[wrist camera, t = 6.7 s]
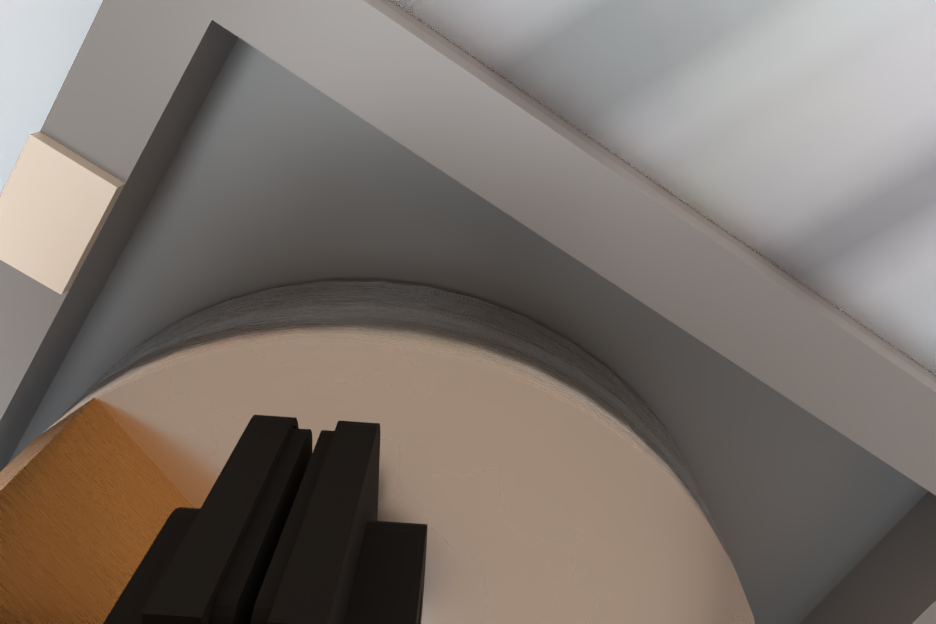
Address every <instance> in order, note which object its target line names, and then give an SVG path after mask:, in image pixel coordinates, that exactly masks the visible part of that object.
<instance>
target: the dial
mask: <svg viewBox="0 0 936 624" xmlns="http://www.w3.org/2000/svg"><path fill="white" fill-rule="evenodd" d="M253 415H267V416H281V417H295V418H297V420H298V427H299V429H311V431H312V453H313V450H314V448H315V445H316V443H317V440H318V437H319V435H320V432H321V430H329V431H335V428H336V425H337V423H338V421H353V422H368V423H380V461H379V488H378V514H377V521H388V522H402V523H417V524H427V547H426V564H425V579H424V594H423V607H422V619H421V624H755V621H754V617H753V614H752V611H751V609H750V606H749V604H748V601H747V598H746V596H745V593H744V591H743V588H742V586H741V583H740V581H739V578H738V575H737V573H736V570H735V568H734V566H733V564H732V561H731V559H730V557H729V555H728V552H727V550H726V548H725V546H724V543H723V541H722V539H721V536H720V534H719V532H718V530H717V527H716V525H715V523H714V521H713V518H712V516H711V514H710V512H709V509H708V507H707V505H706V503H705V500H704V498H703V496H702V493H701V491H700V489H699V487H698V484H697V482H696V480H695V478H694V475H693V473H692V472H691V470H690V468H689V466H688V465H687V463H686V461H685V460H684V458H683V456H682V454H681V453H680V451H679V449H678V447H677V446H676V444H675V442H674V441H673V439H672V437H671V436H670V434H669V433H668V432H667V431H666V429H665V428H664V427H663V426H662V424H661V423H660V422H659V421H658V419H657V418H656V417H655V416H654V414H653V413H652V412H651V411H650V409H649V408H648V407H647V406H646V404H645V403H644V402H643V401H642V400H641V399H640V398H639V397H638V396H637V395H636V394H635V393H634V392H633V391H632V390H631V389H630V388H629V387H628V386H626V385H625V384H624V383H623V382H622V381H621V380H620V379H619V378H618V377H617V376H616V375H615V374H614V373H613V372H612V371H611V370H610V369H608V368H607V367H606V366H604V365H603V364H601V363H600V362H599V361H597V360H596V359H594V358H593V357H592V356H590V355H589V354H587V353H586V352H585V351H583V350H582V349H581V348H579V347H578V346H576V345H575V344H574V343H572V342H571V341H569V340H567V339H566V338H564V337H562V336H560V335H558V334H556V333H554V332H552V331H551V330H549V329H547V328H545V327H543V326H541V325H539V324H538V323H536V322H534V321H532V320H530V319H528V318H526V317H524V316H521V315H519V314H516V313H514V312H511V311H508V310H506V309H503V308H501V307H498V306H495V305H493V304H490V303H487V302H485V301H482V300H480V299H476V298H472V297H468V296H464V295H460V294H456V293H452V292H448V291H444V290H440V289H436V288H432V287H427V286H419V285H410V284H401V283H393V282H384V281H321V282H313V283H306V284H299V285H291V286H284V287H277V288H271V289H268V290H264V291H260V292H257V293H253V294H249V295H246V296H242V297H238V298H235V299H231V300H227V301H224V302H222V303H220V304H217V305H215V306H212V307H210V308H208V309H205V310H203V311H201V312H198V313H196V314H194V315H191V316H189V317H186V318H184V319H182V320H180V321H178V322H177V323H175V324H173V325H172V326H170V327H168V328H166V329H165V330H163V331H161V332H160V333H158V334H156V335H155V336H153V337H151V338H150V339H148V340H146V341H145V342H143V343H141V344H140V345H139V346H138V347H136V348H135V349H134V350H133V351H132V352H130V353H129V354H128V355H127V356H125V357H124V358H123V359H122V360H121V361H119V362H118V363H117V364H116V365H114V366H113V367H112V368H111V369H110V370H108V371H107V372H106V373H105V374H104V375H103V376H102V377H101V378H100V379H99V380H98V381H96V382H95V383H94V384H93V385H92V386H91V387H90V388H89V389H88V390H87V391H86V392H85V393H84V394H83V395H82V396H81V397H80V398H79V399H78V400H77V401H76V402H75V403H74V404H73V405H71V406H70V407H69V408H68V409H67V410H66V411H65V412H64V413H63V414H62V415H61V416H60V417H59V418H58V419H57V420H56V421H55V422H54V423H53V424H52V425H51V426H50V427H49V428H47V429H46V430H45V431H44V432H43V433H42V434H41V435H39V436H38V437H37V438H35V439H34V440H33V441H32V442H31V443H30V444H29V445H28V446H27V447H26V448H25V449H24V450H23V451H22V452H21V453H20V454H19V455H18V456H16V457H15V458H14V459H13V460H12V461H11V462H10V463H9V464H8V465H7V466H6V467H5V468H4V469H3V470H2V471H1V472H0V624H103V623H104V621H105V620H106V618H107V616H108V615H109V613H110V611H111V610H112V608H113V607H114V605H115V603H116V602H117V600H118V598H119V597H120V595H121V594H122V592H123V590H124V589H125V587H126V585H127V584H128V582H129V581H130V579H131V577H132V576H133V574H134V572H135V571H136V569H137V568H138V566H139V564H140V563H141V561H142V559H143V558H144V556H145V555H146V553H147V551H148V550H149V548H150V546H151V545H152V543H153V542H154V540H155V538H156V537H157V535H158V533H159V532H160V530H161V529H162V527H163V525H164V524H165V522H166V520H167V519H168V517H169V516H170V514H171V513H172V512H173V511H174V510H175V509H176V508H179V507H185V508H201V507H202V505H203V503H204V501H205V499H206V498H207V496H208V494H209V492H210V491H211V489H212V487H213V485H214V484H215V482H216V480H217V478H218V476H219V475H220V473H221V471H222V469H223V468H224V466H225V464H226V462H227V460H228V459H229V457H230V455H231V453H232V452H233V450H234V448H235V446H236V444H237V443H238V441H239V439H240V437H241V436H242V434H243V432H244V430H245V428H246V427H247V425H248V423H249V421H250V420H251V418H252V417H253Z"/></svg>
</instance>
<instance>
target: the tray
mask: <svg viewBox="0 0 936 624" xmlns="http://www.w3.org/2000/svg"><path fill="white" fill-rule="evenodd" d="M321 281H384V282H393V283H401V284H410V285H419V286H427V287H432V288H436V289H440V290H444V291H448V292H452V293H456V294H460V295H464V296H468V297H472V298H476V299H480V300H482V301H485V302H487V303H490V304H493V305H495V306H498V307H501V308H503V309H506V310H508V311H511V312H514V313H516V314H519V315H521V316H524V317H526V318H528V319H530V320H532V321H534V322H536V323H538V324H539V325H541V326H543V327H545V328H547V329H549V330H551V331H552V332H554V333H556V334H558V335H560V336H562V337H564V338H566V339H567V340H569V341H571V342H572V343H574V344H575V345H576V346H578V347H579V348H581V349H582V350H583V351H585V352H586V353H587V354H589V355H590V356H592V357H593V358H594V359H596V360H597V361H599V362H600V363H601V364H603V365H604V366H606V367H607V368H608V369H610V370H611V371H612V372H613V373H614V374H615V375H616V376H617V377H618V378H619V379H620V380H621V381H622V382H623V383H624V384H625V385H626V386H628V387H629V388H630V389H631V390H632V391H633V392H634V393H635V394H636V395H637V396H638V397H639V398H640V399H641V400H642V401H643V402H644V403H645V404H646V406H647V407H648V408H649V409H650V411H651V412H652V413H653V414H654V416H655V417H656V418H657V419H658V421H659V422H660V423H661V424H662V426H663V427H664V428H665V429H666V431H667V432H668V433H669V434H670V436H671V437H672V439H673V441H674V442H675V444H676V446H677V447H678V449H679V451H680V453H681V454H682V456H683V458H684V460H685V461H686V463H687V465H688V466H689V468H690V470H691V472H692V473H693V475H694V478H695V480H696V482H697V484H698V487H699V489H700V491H701V493H702V496H703V498H704V500H705V503H706V505H707V507H708V509H709V512H710V514H711V516H712V518H713V521H714V523H715V525H716V527H717V530H718V532H719V534H720V536H721V539H722V541H723V543H724V546H725V548H726V550H727V552H728V555H729V557H730V559H731V561H732V564H733V566H734V568H735V570H736V573H737V575H738V578H739V581H740V583H741V586H742V588H743V591H744V593H745V596H746V598H747V601H748V604H749V606H750V609H751V611H752V614H753V617H754V621H755V624H936V376H935V375H934V374H932V373H931V372H929V371H928V370H926V369H925V368H924V367H922V366H921V365H919V364H918V363H916V362H915V361H913V360H912V359H910V358H909V357H908V356H906V355H905V354H903V353H902V352H900V351H899V350H897V349H896V348H895V347H893V346H892V345H890V344H889V343H887V342H886V341H884V340H883V339H881V338H880V337H879V336H877V335H876V334H874V333H873V332H871V331H870V330H868V329H867V328H865V327H864V326H863V325H861V324H860V323H858V322H857V321H855V320H854V319H852V318H851V317H849V316H848V315H847V314H845V313H844V312H842V311H841V310H839V309H838V308H836V307H835V306H834V305H832V304H831V303H829V302H828V301H826V300H825V299H823V298H822V297H820V296H819V295H818V294H816V293H815V292H813V291H812V290H810V289H809V288H807V287H806V286H804V285H803V284H802V283H800V282H799V281H797V280H796V279H794V278H793V277H791V276H790V275H788V274H787V273H786V272H784V271H783V270H781V269H780V268H778V267H777V266H775V265H774V264H773V263H771V262H770V261H768V260H767V259H765V258H764V257H762V256H761V255H759V254H758V253H757V252H755V251H754V250H752V249H751V248H749V247H748V246H746V245H745V244H743V243H742V242H741V241H739V240H738V239H736V238H735V237H733V236H732V235H730V234H729V233H727V232H726V231H725V230H723V229H722V228H720V227H719V226H717V225H716V224H714V223H713V222H712V221H710V220H709V219H707V218H706V217H704V216H703V215H701V214H700V213H698V212H697V211H696V210H694V209H693V208H691V207H690V206H688V205H687V204H685V203H684V202H682V201H681V200H680V199H678V198H677V197H675V196H674V195H672V194H671V193H669V192H668V191H666V190H665V189H664V188H662V187H661V186H659V185H658V184H656V183H655V182H653V181H652V180H651V179H649V178H648V177H646V176H645V175H643V174H642V173H640V172H639V171H637V170H636V169H635V168H633V167H632V166H630V165H629V164H627V163H626V162H624V161H623V160H621V159H620V158H619V157H617V156H616V155H614V154H613V153H611V152H610V151H608V150H607V149H606V148H604V147H603V146H601V145H600V144H598V143H597V142H595V141H594V140H592V139H591V138H590V137H588V136H587V135H585V134H584V133H582V132H581V131H579V130H578V129H576V128H575V127H574V126H572V125H571V124H569V123H568V122H566V121H565V120H563V119H562V118H560V117H559V116H558V115H556V114H555V113H553V112H552V111H550V110H549V109H547V108H546V107H545V106H543V105H542V104H540V103H539V102H537V101H536V100H534V99H533V98H531V97H530V96H529V95H527V94H526V93H524V92H523V91H521V90H520V89H518V88H517V87H515V86H514V85H513V84H511V83H510V82H508V81H507V80H505V79H504V78H502V77H501V76H499V75H498V74H497V73H495V72H494V71H492V70H491V69H489V68H488V67H486V66H485V65H484V64H482V63H481V62H479V61H478V60H476V59H475V58H473V57H472V56H470V55H469V54H468V53H466V52H465V51H463V50H462V49H460V48H459V47H457V46H456V45H454V44H453V43H452V42H450V41H449V40H447V39H446V38H444V37H443V36H441V35H440V34H438V33H437V32H436V31H434V30H433V29H431V28H430V27H428V26H427V25H425V24H424V23H423V22H421V21H420V20H418V19H417V18H415V17H414V16H412V15H411V14H409V13H408V12H407V11H405V10H404V9H402V8H401V7H399V6H398V5H396V4H395V3H393V2H392V1H391V0H103V2H102V4H101V7H100V9H99V11H98V13H97V15H96V17H95V19H94V21H93V23H92V25H91V27H90V29H89V31H88V33H87V36H86V38H85V40H84V42H83V44H82V46H81V48H80V50H79V52H78V54H77V56H76V58H75V60H74V62H73V64H72V67H71V69H70V71H69V73H68V75H67V77H66V79H65V81H64V83H63V85H62V87H61V89H60V91H59V93H58V96H57V98H56V100H55V102H54V104H53V106H52V108H51V110H50V112H49V114H48V116H47V118H46V120H45V122H44V125H43V127H42V129H41V131H40V132H37V133H33V134H30V135H29V137H28V140H27V142H26V144H25V146H24V148H23V150H22V152H21V154H20V156H19V158H18V160H17V163H16V165H15V167H14V169H13V171H12V173H11V175H10V177H9V179H8V181H7V183H6V185H5V188H4V190H3V192H2V194H1V196H0V472H1V471H2V470H3V469H4V468H5V467H6V466H7V465H8V464H9V463H10V462H11V461H12V460H13V459H14V458H15V457H16V456H18V455H19V454H20V453H21V452H22V451H23V450H24V449H25V448H26V447H27V446H28V445H29V444H30V443H31V442H32V441H33V440H34V439H35V438H37V437H38V436H39V435H41V434H42V433H43V432H44V431H45V430H46V429H47V428H49V427H50V426H51V425H52V424H53V423H54V422H55V421H56V420H57V419H58V418H59V417H60V416H61V415H62V414H63V413H64V412H65V411H66V410H67V409H68V408H69V407H70V406H71V405H73V404H74V403H75V402H76V401H77V400H78V399H79V398H80V397H81V396H82V395H83V394H84V393H85V392H86V391H87V390H88V389H89V388H90V387H91V386H92V385H93V384H94V383H95V382H96V381H98V380H99V379H100V378H101V377H102V376H103V375H104V374H105V373H106V372H107V371H108V370H110V369H111V368H112V367H113V366H114V365H116V364H117V363H118V362H119V361H121V360H122V359H123V358H124V357H125V356H127V355H128V354H129V353H130V352H132V351H133V350H134V349H135V348H136V347H138V346H139V345H140V344H141V343H143V342H145V341H146V340H148V339H150V338H151V337H153V336H155V335H156V334H158V333H160V332H161V331H163V330H165V329H166V328H168V327H170V326H172V325H173V324H175V323H177V322H178V321H180V320H182V319H184V318H186V317H189V316H191V315H194V314H196V313H198V312H201V311H203V310H205V309H208V308H210V307H212V306H215V305H217V304H220V303H222V302H224V301H227V300H231V299H235V298H238V297H242V296H246V295H249V294H253V293H257V292H260V291H264V290H268V289H271V288H277V287H284V286H291V285H299V284H306V283H313V282H321Z"/></svg>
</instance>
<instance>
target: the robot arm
mask: <svg viewBox="0 0 936 624" xmlns="http://www.w3.org/2000/svg"><path fill="white" fill-rule="evenodd" d="M379 461H380V423H368V422H353V421H338V423H337V425H336V428H335V431H329V430H321V432H320V435H319V437H318V440H317V443H316V445H315V448H314V450H313V453H312V431H311V429H299V427H298V420H297V418H295V417H281V416H267V415H253V417H252V418H251V420H250V421H249V423H248V425H247V427H246V428H245V430H244V432H243V434H242V436H241V437H240V439H239V441H238V443H237V444H236V446H235V448H234V450H233V452H232V453H231V455H230V457H229V459H228V460H227V462H226V464H225V466H224V468H223V469H222V471H221V473H220V475H219V476H218V478H217V480H216V482H215V484H214V485H213V487H212V489H211V491H210V492H209V494H208V496H207V498H206V499H205V501H204V503H203V505H202V507H201V508H185V507H179V508H176V509H175V510H174V511H173V512H172V513H171V514H170V516H169V517H168V519H167V520H166V522H165V524H164V525H163V527H162V529H161V530H160V532H159V533H158V535H157V537H156V538H155V540H154V542H153V543H152V545H151V546H150V548H149V550H148V551H147V553H146V555H145V556H144V558H143V559H142V561H141V563H140V564H139V566H138V568H137V569H136V571H135V572H134V574H133V576H132V577H131V579H130V581H129V582H128V584H127V585H126V587H125V589H124V590H123V592H122V594H121V595H120V597H119V598H118V600H117V602H116V603H115V605H114V607H113V608H112V610H111V611H110V613H109V615H108V616H107V618H106V620H105V621H104V623H103V624H421V619H422V607H423V594H424V579H425V564H426V547H427V524H417V523H402V522H388V521H377V514H378V488H379Z"/></svg>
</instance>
